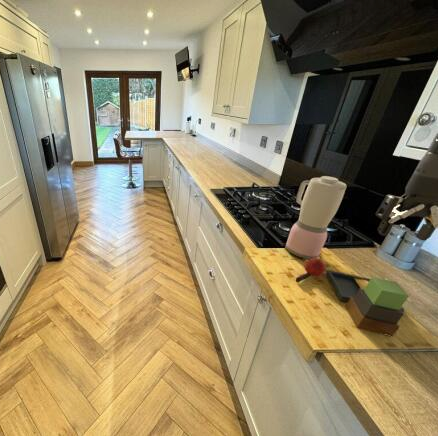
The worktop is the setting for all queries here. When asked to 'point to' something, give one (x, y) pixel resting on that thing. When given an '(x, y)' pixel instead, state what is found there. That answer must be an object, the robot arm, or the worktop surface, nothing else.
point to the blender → (314, 216)
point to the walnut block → (369, 320)
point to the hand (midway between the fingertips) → (401, 236)
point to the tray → (344, 285)
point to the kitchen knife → (303, 277)
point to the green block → (385, 293)
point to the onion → (315, 267)
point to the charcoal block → (376, 309)
